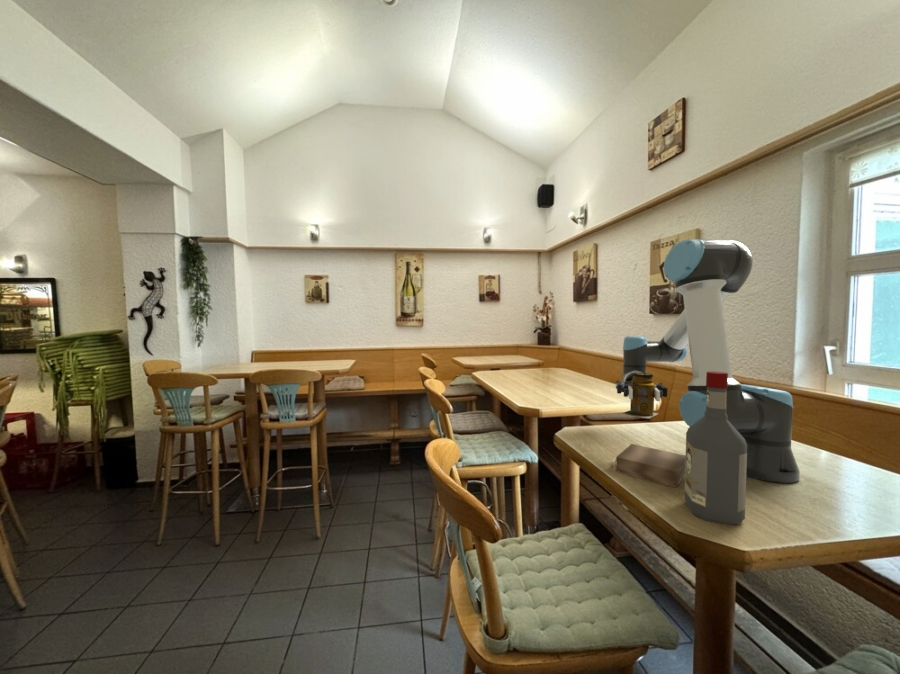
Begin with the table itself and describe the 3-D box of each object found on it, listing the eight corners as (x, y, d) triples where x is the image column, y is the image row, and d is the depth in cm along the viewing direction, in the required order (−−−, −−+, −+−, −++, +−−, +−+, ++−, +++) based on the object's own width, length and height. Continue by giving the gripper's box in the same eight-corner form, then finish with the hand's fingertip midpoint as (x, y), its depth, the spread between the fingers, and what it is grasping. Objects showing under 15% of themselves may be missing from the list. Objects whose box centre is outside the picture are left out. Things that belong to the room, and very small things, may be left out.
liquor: (730, 505, 77) (734, 370, 76) (749, 528, 69) (754, 376, 68) (681, 498, 81) (685, 369, 79) (694, 519, 72) (698, 374, 71)
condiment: (658, 414, 103) (659, 373, 103) (648, 419, 97) (649, 376, 97) (632, 409, 109) (633, 371, 108) (621, 414, 103) (622, 373, 102)
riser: (686, 470, 96) (686, 455, 96) (676, 487, 86) (676, 471, 86) (631, 456, 106) (631, 443, 106) (616, 471, 95) (616, 456, 95)
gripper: (669, 396, 116) (684, 411, 94) (606, 391, 123) (607, 405, 102) (669, 373, 115) (685, 384, 94) (606, 370, 123) (607, 379, 102)
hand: (644, 395), depth 98 cm, fingers closed on condiment, 6 cm apart
